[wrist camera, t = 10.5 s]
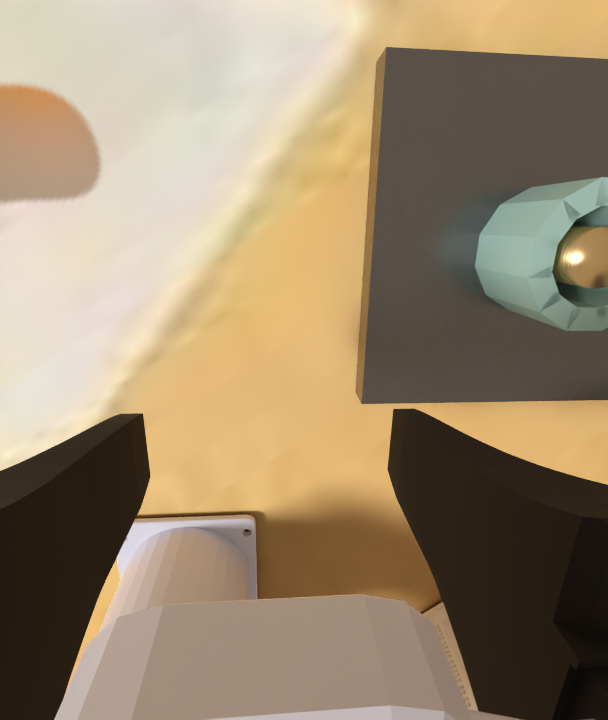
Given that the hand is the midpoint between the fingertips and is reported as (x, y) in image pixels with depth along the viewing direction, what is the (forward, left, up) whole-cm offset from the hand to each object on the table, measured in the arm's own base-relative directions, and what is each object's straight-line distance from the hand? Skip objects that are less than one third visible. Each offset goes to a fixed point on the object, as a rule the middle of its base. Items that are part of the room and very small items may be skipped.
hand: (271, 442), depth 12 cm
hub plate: (+5, -12, -9) cm, 16 cm away
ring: (+5, -12, -8) cm, 15 cm away
